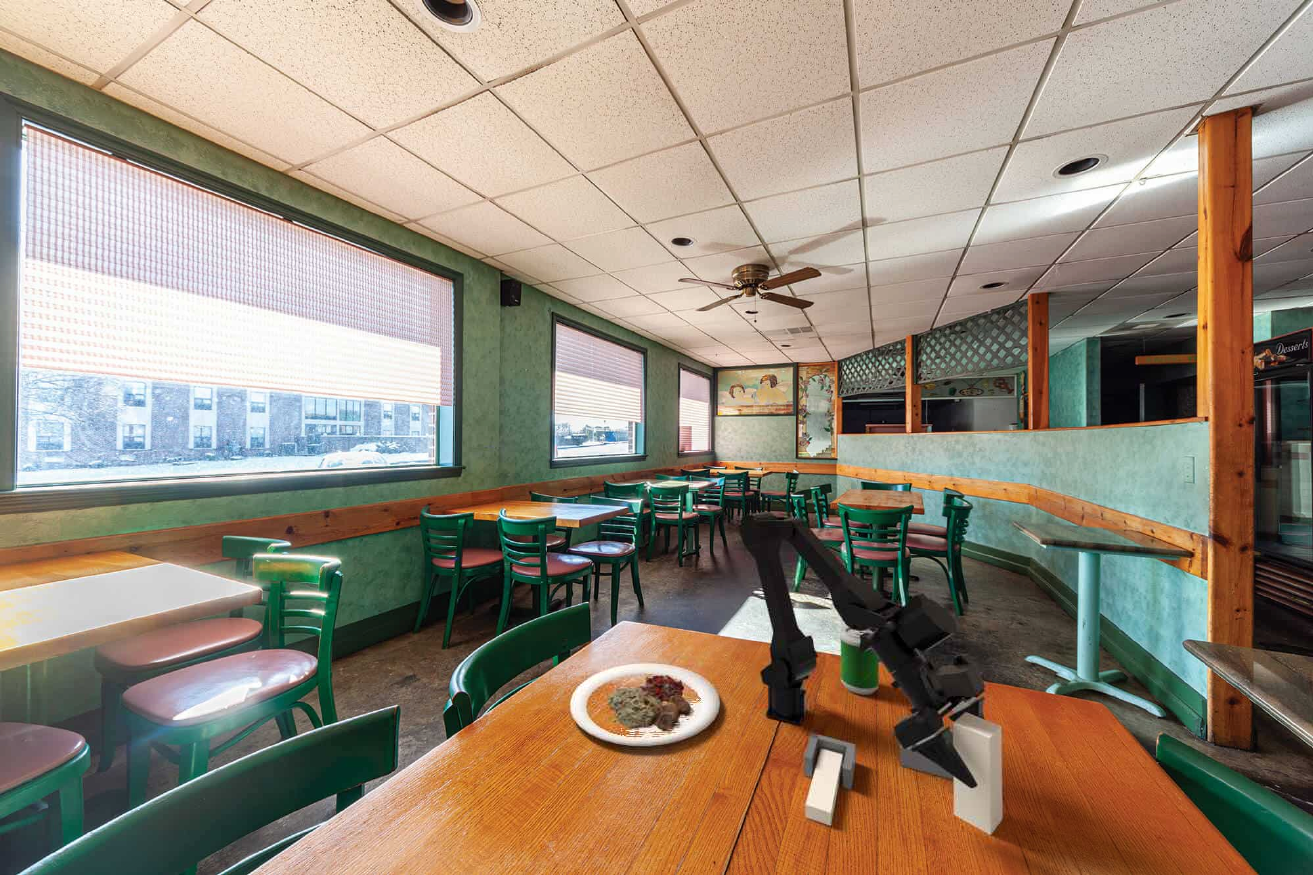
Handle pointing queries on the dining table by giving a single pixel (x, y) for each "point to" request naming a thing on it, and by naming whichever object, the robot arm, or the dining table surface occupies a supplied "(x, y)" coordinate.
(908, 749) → the grey square frame
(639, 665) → the plated food
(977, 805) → the white rectangular block
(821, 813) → the cap with slat
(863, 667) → the soda can
